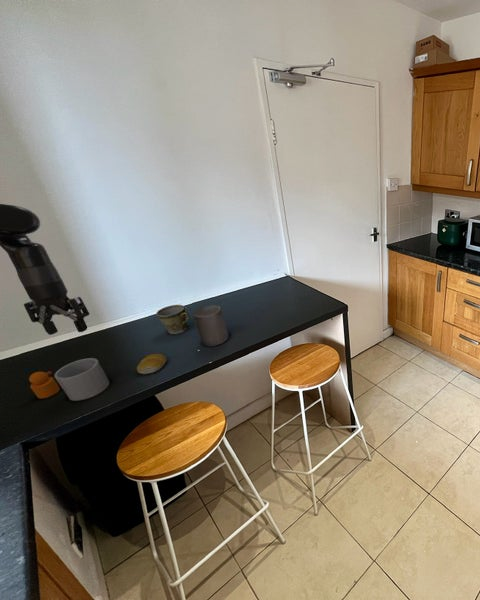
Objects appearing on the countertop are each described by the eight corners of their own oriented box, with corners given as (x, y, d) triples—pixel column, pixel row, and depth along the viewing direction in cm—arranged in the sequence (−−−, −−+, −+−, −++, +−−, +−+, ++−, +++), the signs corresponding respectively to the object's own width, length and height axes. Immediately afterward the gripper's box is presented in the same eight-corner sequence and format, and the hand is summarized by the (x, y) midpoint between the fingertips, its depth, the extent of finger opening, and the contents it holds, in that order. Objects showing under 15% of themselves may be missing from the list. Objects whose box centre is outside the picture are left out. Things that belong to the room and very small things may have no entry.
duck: (45, 399, 100) (31, 379, 96) (33, 397, 101) (18, 377, 97) (65, 387, 105) (53, 367, 101) (53, 385, 106) (41, 365, 102)
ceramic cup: (158, 335, 133) (150, 315, 128) (176, 323, 141) (169, 303, 137) (186, 337, 131) (178, 317, 126) (203, 325, 140) (196, 305, 135)
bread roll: (170, 357, 119) (166, 348, 117) (161, 372, 112) (157, 363, 110) (144, 361, 117) (140, 352, 115) (134, 376, 110) (129, 367, 108)
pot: (85, 402, 99) (71, 381, 95) (60, 398, 101) (45, 376, 96) (117, 381, 108) (105, 360, 103) (93, 377, 109) (81, 356, 105)
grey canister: (197, 342, 128) (186, 310, 121) (220, 330, 136) (210, 300, 129) (211, 349, 124) (200, 316, 117) (234, 337, 131) (224, 305, 124)
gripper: (0, 287, 84) (30, 340, 90) (55, 282, 84) (82, 336, 90) (29, 279, 91) (55, 328, 97) (80, 274, 91) (103, 324, 97)
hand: (68, 332), depth 93 cm, fingers open, 8 cm apart
